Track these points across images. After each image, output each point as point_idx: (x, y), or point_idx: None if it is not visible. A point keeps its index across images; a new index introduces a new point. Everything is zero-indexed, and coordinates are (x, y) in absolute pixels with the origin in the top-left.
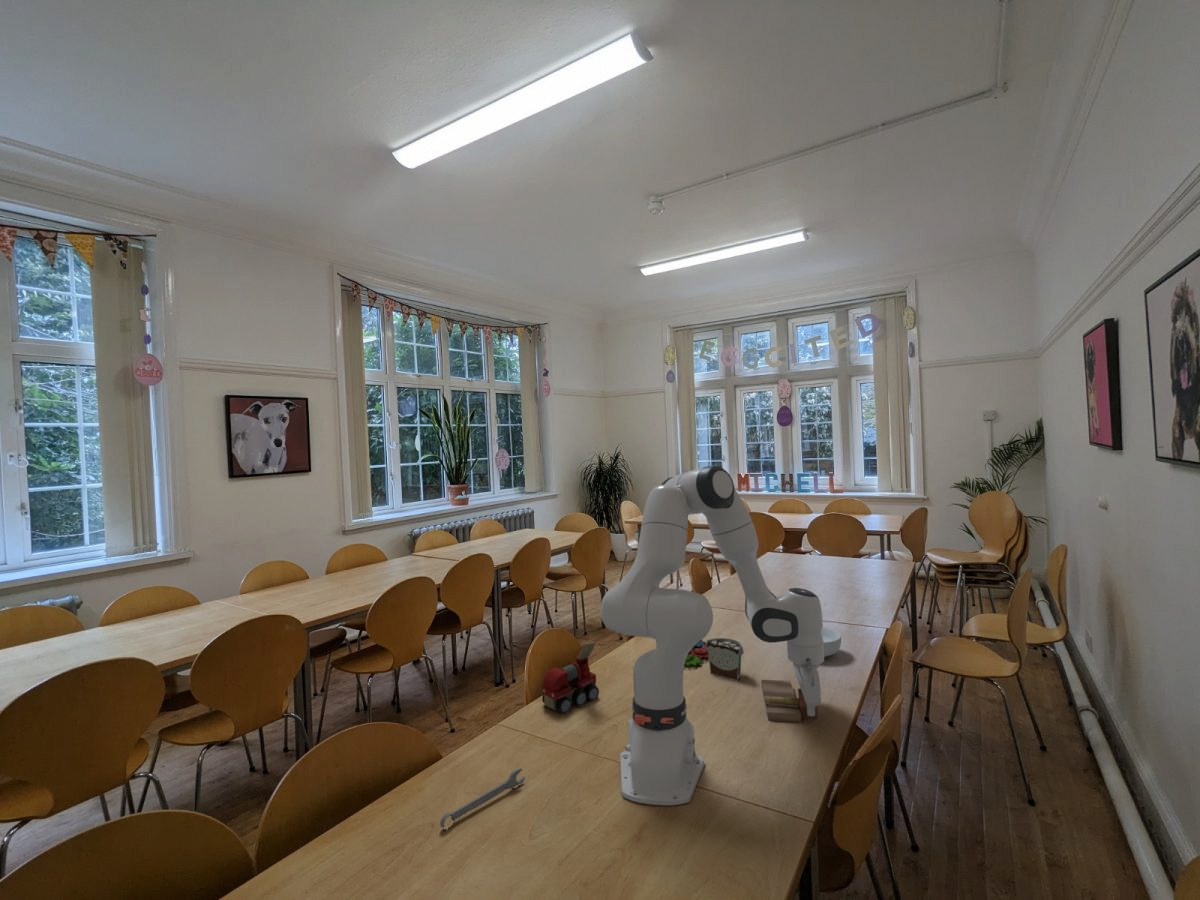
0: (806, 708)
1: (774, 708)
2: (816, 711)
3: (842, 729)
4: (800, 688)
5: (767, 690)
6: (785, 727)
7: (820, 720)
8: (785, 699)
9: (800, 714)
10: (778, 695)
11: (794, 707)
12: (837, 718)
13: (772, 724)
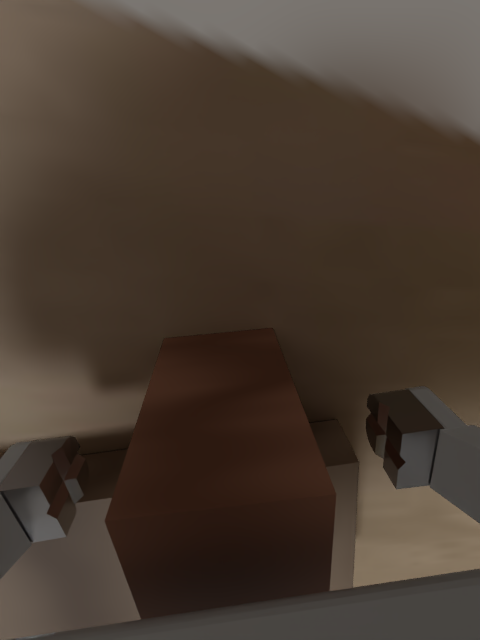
0: (386, 470)
1: None
2: (284, 360)
3: (432, 131)
4: (3, 567)
5: (35, 632)
6: None
7: (291, 305)
8: None
9: (355, 461)
10: (85, 585)
11: None
12: (224, 158)
13: (376, 531)
